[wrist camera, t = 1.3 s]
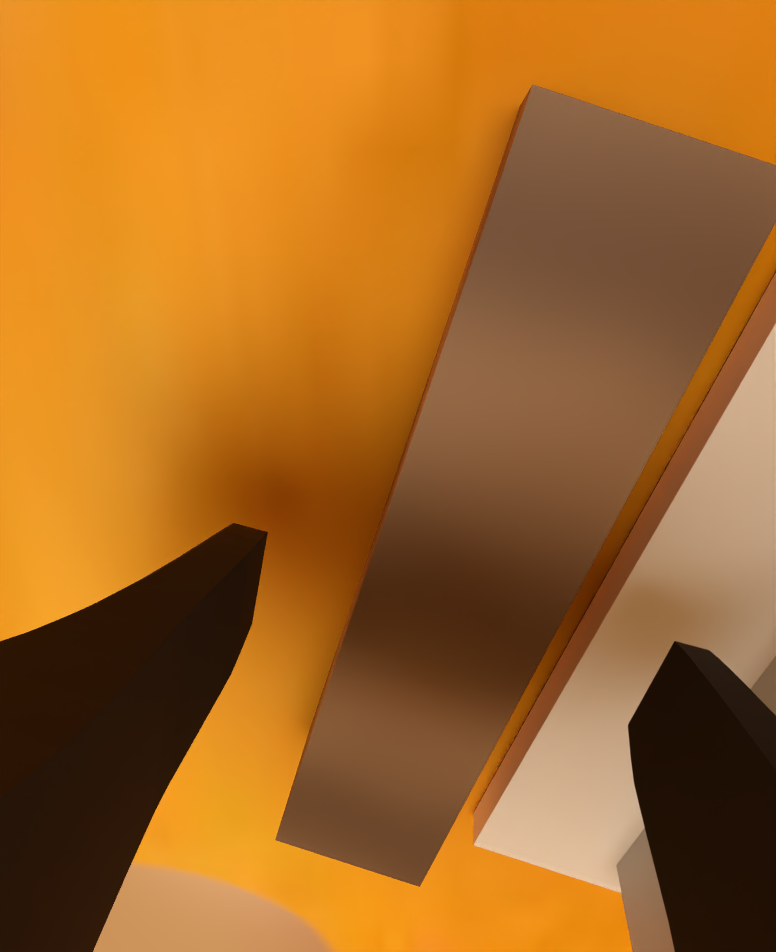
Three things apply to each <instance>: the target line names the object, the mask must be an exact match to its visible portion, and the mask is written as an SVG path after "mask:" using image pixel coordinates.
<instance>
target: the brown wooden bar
mask: <svg viewBox="0 0 776 952" xmlns="http://www.w3.org/2000/svg"><path fill="white" fill-rule="evenodd" d="M775 222H776V165H773V164H770V163H767V162H764V161H761V160H758V159H755V158H752V157H749V156H746V155H743V154H740V153H737V152H734V151H731V150H728V149H725V148H722V147H719V146H716V145H713V144H710V143H707V142H704V141H701V140H698V139H695V138H692V137H689V136H686V135H683V134H680V133H677V132H674V131H671V130H668V129H665V128H662V127H659V126H656V125H653V124H650V123H647V122H644V121H641V120H638V119H635V118H632V117H629V116H626V115H623V114H620V113H617V112H614V111H611V110H608V109H605V108H602V107H599V106H596V105H593V104H590V103H587V102H584V101H581V100H578V99H575V98H572V97H569V96H566V95H563V94H560V93H557V92H554V91H551V90H548V89H545V88H542V87H539V86H536V85H532V87H531V88H530V90H529V92H528V93H527V95H526V97H525V99H524V100H523V102H522V104H521V105H520V108H519V111H518V114H517V117H516V120H515V123H514V126H513V129H512V132H511V135H510V138H509V141H508V143H507V146H506V149H505V152H504V155H503V158H502V161H501V164H500V167H499V170H498V173H497V176H496V179H495V182H494V185H493V188H492V191H491V194H490V197H489V200H488V203H487V206H486V209H485V212H484V215H483V218H482V221H481V224H480V226H479V229H478V232H477V235H476V238H475V241H474V244H473V247H472V250H471V253H470V256H469V259H468V262H467V265H466V268H465V271H464V274H463V277H462V280H461V283H460V286H459V289H458V292H457V295H456V298H455V301H454V304H453V307H452V310H451V312H450V315H449V318H448V321H447V324H446V327H445V330H444V333H443V336H442V339H441V342H440V345H439V348H438V351H437V354H436V357H435V360H434V363H433V366H432V369H431V372H430V375H429V378H428V381H427V384H426V387H425V390H424V393H423V395H422V398H421V401H420V404H419V407H418V410H417V413H416V416H415V419H414V422H413V425H412V428H411V431H410V434H409V437H408V440H407V443H406V446H405V449H404V452H403V455H402V458H401V461H400V464H399V467H398V470H397V473H396V476H395V478H394V481H393V484H392V487H391V490H390V493H389V496H388V499H387V502H386V505H385V508H384V511H383V514H382V517H381V520H380V523H379V526H378V529H377V532H376V535H375V538H374V541H373V544H372V547H371V550H370V553H369V556H368V559H367V561H366V564H365V567H364V570H363V573H362V576H361V579H360V582H359V585H358V588H357V591H356V594H355V597H354V600H353V603H352V606H351V609H350V612H349V615H348V618H347V621H346V624H345V627H344V630H343V633H342V636H341V639H340V642H339V644H338V647H337V650H336V653H335V656H334V659H333V662H332V665H331V668H330V671H329V674H328V677H327V680H326V683H325V686H324V689H323V692H322V695H321V698H320V701H319V704H318V707H317V710H316V713H315V716H314V719H313V722H312V725H311V727H310V730H309V734H308V737H307V740H306V743H305V746H304V750H303V753H302V756H301V759H300V762H299V766H298V769H297V772H296V775H295V779H294V782H293V785H292V788H291V791H290V795H289V798H288V801H287V804H286V807H285V811H284V814H283V817H282V820H281V824H280V827H279V830H278V833H277V836H276V840H277V841H280V842H283V843H286V844H289V845H292V846H295V847H298V848H302V849H305V850H308V851H311V852H314V853H317V854H320V855H323V856H326V857H329V858H332V859H336V860H339V861H342V862H345V863H348V864H351V865H354V866H357V867H360V868H363V869H366V870H370V871H373V872H376V873H379V874H382V875H385V876H388V877H391V878H394V879H397V880H400V881H404V882H407V883H410V884H413V885H416V886H419V887H420V885H421V883H422V881H423V880H424V878H425V876H426V874H427V872H428V870H429V868H430V867H431V865H432V863H433V861H434V859H435V857H436V855H437V853H438V852H439V850H440V848H441V846H442V844H443V842H444V840H445V839H446V837H447V835H448V833H449V831H450V829H451V827H452V825H453V824H454V822H455V820H456V818H457V816H458V814H459V812H460V811H461V809H462V807H463V805H464V803H465V801H466V799H467V797H468V796H469V794H470V792H471V790H472V788H473V786H474V784H475V783H476V781H477V779H478V777H479V775H480V773H481V771H482V769H483V768H484V766H485V764H486V762H487V760H488V758H489V756H490V755H491V753H492V751H493V749H494V747H495V745H496V743H497V741H498V740H499V738H500V736H501V734H502V732H503V730H504V728H505V727H506V725H507V723H508V721H509V719H510V717H511V715H512V713H513V712H514V710H515V708H516V706H517V704H518V702H519V700H520V699H521V697H522V695H523V693H524V691H525V689H526V687H527V685H528V684H529V682H530V680H531V678H532V676H533V674H534V672H535V671H536V669H537V667H538V665H539V663H540V661H541V659H542V657H543V656H544V654H545V652H546V650H547V648H548V646H549V644H550V643H551V641H552V639H553V637H554V635H555V633H556V631H557V629H558V628H559V626H560V624H561V622H562V620H563V618H564V616H565V614H566V613H567V611H568V609H569V607H570V605H571V603H572V601H573V600H574V598H575V596H576V594H577V592H578V590H579V588H580V586H581V585H582V583H583V581H584V579H585V577H586V575H587V573H588V572H589V570H590V568H591V566H592V564H593V562H594V560H595V558H596V557H597V555H598V553H599V551H600V549H601V547H602V545H603V544H604V542H605V540H606V538H607V536H608V534H609V532H610V530H611V529H612V527H613V525H614V523H615V521H616V519H617V517H618V516H619V514H620V512H621V510H622V508H623V506H624V504H625V502H626V501H627V499H628V497H629V495H630V493H631V491H632V489H633V488H634V486H635V484H636V482H637V480H638V478H639V476H640V474H641V473H642V471H643V469H644V467H645V465H646V463H647V461H648V460H649V458H650V456H651V454H652V452H653V450H654V448H655V446H656V445H657V443H658V441H659V439H660V437H661V435H662V433H663V432H664V430H665V428H666V426H667V424H668V422H669V420H670V418H671V417H672V415H673V413H674V411H675V409H676V407H677V405H678V404H679V402H680V400H681V398H682V396H683V394H684V392H685V390H686V389H687V387H688V385H689V383H690V381H691V379H692V377H693V376H694V374H695V372H696V370H697V368H698V366H699V364H700V362H701V361H702V359H703V357H704V355H705V353H706V351H707V349H708V348H709V346H710V344H711V342H712V340H713V338H714V336H715V334H716V333H717V331H718V329H719V327H720V325H721V323H722V321H723V319H724V318H725V316H726V314H727V312H728V310H729V308H730V306H731V305H732V303H733V301H734V299H735V297H736V295H737V293H738V291H739V290H740V288H741V286H742V284H743V282H744V280H745V278H746V277H747V275H748V273H749V271H750V269H751V267H752V265H753V263H754V262H755V260H756V258H757V256H758V254H759V252H760V250H761V249H762V247H763V245H764V243H765V241H766V239H767V237H768V235H769V234H770V232H771V230H772V228H773V226H774V224H775Z"/></svg>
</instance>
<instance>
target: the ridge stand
mask: <svg viewBox="0 0 776 952" xmlns="http://www.w3.org/2000/svg"><path fill="white" fill-rule="evenodd" d="M674 641H677V642H681V643H684V644H688V645H692V646H696V647H699V648H703V649H707V650H710V651H711V652H712V653H713V654H714V655H716V656H717V657H718V658H719V659H720V660H721V661H722V662H723V663H724V664H725V665H727V666H728V667H729V668H730V669H731V670H732V671H733V672H734V673H735V674H736V675H737V676H738V677H739V678H740V679H741V680H742V681H743V682H744V683H745V684H746V685H747V686H748V687H749V688H750V689H751V690H752V691H753V692H754V693H755V695H756V696H757V697H758V698H759V699H760V700H761V701H762V702H763V703H764V704H765V705H766V706H767V707H768V708H769V709H770V710H771V711H772V712H773V713H774V714H775V715H776V273H775V275H774V277H773V278H772V280H771V282H770V284H769V285H768V287H767V289H766V291H765V293H764V294H763V296H762V298H761V300H760V302H759V303H758V305H757V307H756V309H755V311H754V312H753V314H752V316H751V318H750V319H749V321H748V323H747V325H746V327H745V328H744V330H743V332H742V334H741V336H740V337H739V339H738V341H737V343H736V345H735V346H734V348H733V350H732V352H731V353H730V355H729V357H728V359H727V361H726V362H725V364H724V366H723V368H722V370H721V371H720V373H719V375H718V377H717V379H716V380H715V382H714V384H713V386H712V387H711V389H710V391H709V393H708V395H707V396H706V398H705V400H704V402H703V404H702V405H701V407H700V409H699V411H698V412H697V414H696V416H695V418H694V420H693V421H692V423H691V425H690V427H689V429H688V430H687V432H686V434H685V436H684V438H683V439H682V441H681V443H680V445H679V446H678V448H677V450H676V452H675V454H674V455H673V457H672V459H671V461H670V463H669V464H668V466H667V468H666V470H665V472H664V473H663V475H662V477H661V479H660V480H659V482H658V484H657V486H656V488H655V489H654V491H653V493H652V495H651V497H650V498H649V500H648V502H647V504H646V505H645V507H644V509H643V511H642V513H641V514H640V516H639V518H638V520H637V522H636V523H635V525H634V527H633V529H632V531H631V532H630V534H629V536H628V538H627V539H626V541H625V543H624V545H623V547H622V548H621V550H620V552H619V554H618V556H617V557H616V559H615V561H614V563H613V565H612V566H611V568H610V570H609V572H608V573H607V575H606V577H605V579H604V581H603V582H602V584H601V586H600V588H599V590H598V591H597V593H596V595H595V597H594V599H593V600H592V602H591V604H590V606H589V607H588V609H587V611H586V613H585V615H584V616H583V618H582V620H581V622H580V624H579V625H578V627H577V629H576V631H575V632H574V634H573V636H572V638H571V640H570V641H569V643H568V645H567V647H566V649H565V650H564V652H563V654H562V656H561V658H560V659H559V661H558V663H557V665H556V666H555V668H554V670H553V672H552V674H551V675H550V677H549V679H548V681H547V683H546V684H545V686H544V688H543V690H542V692H541V693H540V695H539V697H538V699H537V700H536V702H535V704H534V706H533V708H532V709H531V711H530V713H529V715H528V717H527V718H526V720H525V722H524V724H523V725H522V727H521V729H520V731H519V733H518V734H517V736H516V738H515V740H514V742H513V743H512V745H511V747H510V749H509V751H508V752H507V754H506V756H505V758H504V759H503V761H502V763H501V765H500V767H499V768H498V770H497V772H496V774H495V776H494V777H493V779H492V781H491V783H490V785H489V786H488V788H487V790H486V792H485V793H484V795H483V797H482V799H481V801H480V802H479V804H478V806H477V808H476V810H475V811H474V828H473V845H474V846H478V847H481V848H484V849H487V850H490V851H493V852H496V853H499V854H502V855H505V856H508V857H512V858H515V859H518V860H521V861H524V862H527V863H530V864H533V865H536V866H539V867H542V868H546V869H549V870H552V871H555V872H558V873H561V874H564V875H567V876H570V877H573V878H576V879H580V880H583V881H586V882H589V883H592V884H595V885H598V886H601V887H604V888H607V889H610V890H614V891H617V892H620V893H622V898H623V903H624V908H625V914H626V919H627V924H628V929H629V934H630V940H631V945H632V950H633V952H675V951H674V946H673V941H672V937H671V932H670V927H669V922H668V918H667V914H666V910H665V906H664V903H663V899H662V895H661V891H660V887H659V883H658V879H657V875H656V871H655V867H654V863H653V859H652V855H651V851H650V847H649V843H648V839H647V835H646V831H645V827H644V823H643V819H642V815H641V811H640V807H639V803H638V798H637V794H636V790H635V785H634V780H633V772H632V764H631V756H630V745H629V733H628V724H629V722H630V720H631V718H632V716H633V715H634V713H635V711H636V709H637V707H638V706H639V704H640V702H641V700H642V699H643V697H644V695H645V693H646V691H647V690H648V688H649V686H650V684H651V682H652V681H653V679H654V677H655V675H656V673H657V672H658V670H659V668H660V666H661V664H662V663H663V661H664V659H665V657H666V655H667V654H668V652H669V650H670V648H671V646H672V645H673V643H674Z"/></svg>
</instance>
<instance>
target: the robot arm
mask: <svg viewBox="0 0 776 952" xmlns="http://www.w3.org/2000/svg"><path fill="white" fill-rule="evenodd" d="M267 533H268V532H265V531H261V530H257V529H254V528H250V527H246V526H242V525H239V524H235V523H233V524H231V525H229V526H228V527H226V528H224V529H223V530H221V531H219V532H218V533H216V534H215V535H213V536H212V537H210V538H208V539H207V540H205V541H204V542H202V543H201V544H199V545H197V546H196V547H194V548H193V549H191V550H190V551H188V552H186V553H185V554H183V555H182V556H180V557H178V558H177V559H175V560H173V561H172V562H170V563H168V564H167V565H165V566H163V567H161V568H160V569H158V570H156V571H155V572H153V573H151V574H150V575H148V576H146V577H144V578H143V579H141V580H139V581H137V582H135V583H133V584H131V585H130V586H128V587H126V588H124V589H122V590H120V591H118V592H116V593H114V594H112V595H110V596H108V597H107V598H105V599H103V600H101V601H99V602H97V603H95V604H93V605H91V606H89V607H86V608H84V609H82V610H80V611H78V612H75V613H73V614H71V615H69V616H66V617H64V618H61V619H59V620H56V621H54V622H52V623H49V624H47V625H44V626H42V627H40V628H37V629H34V630H32V631H29V632H27V633H24V634H21V635H18V636H15V637H12V638H9V639H6V640H3V641H0V952H93V950H94V948H95V945H96V943H97V941H98V938H99V936H100V934H101V931H102V929H103V927H104V925H105V922H106V920H107V918H108V915H109V913H110V910H111V909H112V906H113V904H114V902H115V899H116V897H117V895H118V892H119V890H120V888H121V886H122V883H123V881H124V878H125V876H126V874H127V872H128V870H129V867H130V865H131V863H132V861H133V859H134V856H135V854H136V852H137V850H138V847H139V845H140V843H141V841H142V839H143V836H144V834H145V832H146V830H147V827H148V825H149V823H150V821H151V819H152V816H153V814H154V812H155V810H156V808H157V806H158V804H159V802H160V800H161V798H162V796H163V794H164V793H165V791H166V789H167V787H168V785H169V783H170V781H171V780H172V778H173V776H174V774H175V773H176V771H177V769H178V767H179V765H180V764H181V762H182V760H183V758H184V757H185V755H186V753H187V751H188V750H189V748H190V746H191V744H192V743H193V741H194V739H195V737H196V736H197V734H198V732H199V730H200V728H201V727H202V725H203V723H204V721H205V720H206V718H207V716H208V714H209V713H210V711H211V709H212V707H213V705H214V704H215V702H216V700H217V698H218V697H219V695H220V693H221V691H222V689H223V688H224V686H225V684H226V682H227V680H228V679H229V677H230V675H231V673H232V671H233V668H234V666H235V664H236V661H237V659H238V657H239V654H240V652H241V649H242V647H243V645H244V642H245V640H246V637H247V635H248V632H249V630H250V627H251V625H252V620H253V615H254V609H255V603H256V597H257V591H258V585H259V580H260V574H261V568H262V562H263V556H264V550H265V545H266V539H267ZM628 733H629V745H630V756H631V764H632V772H633V780H634V785H635V790H636V794H637V798H638V803H639V807H640V811H641V815H642V819H643V823H644V827H645V831H646V835H647V839H648V843H649V847H650V851H651V855H652V859H653V863H654V867H655V871H656V875H657V879H658V883H659V887H660V891H661V895H662V899H663V903H664V906H665V910H666V914H667V918H668V922H669V927H670V932H671V937H672V941H673V946H674V951H675V952H776V715H775V714H774V713H773V712H772V711H771V710H770V709H769V708H768V707H767V706H766V705H765V704H764V703H763V702H762V701H761V700H760V699H759V698H758V697H757V696H756V695H755V693H754V692H753V691H752V690H751V689H750V688H749V687H748V686H747V685H746V684H745V683H744V682H743V681H742V680H741V679H740V678H739V677H738V676H737V675H736V674H735V673H734V672H733V671H732V670H731V669H730V668H729V667H728V666H727V665H725V664H724V663H723V662H722V661H721V660H720V659H719V658H718V657H717V656H716V655H714V654H713V653H712V652H711V651H710V650H707V649H703V648H699V647H696V646H692V645H688V644H684V643H681V642H677V641H674V643H673V645H672V646H671V648H670V650H669V652H668V654H667V655H666V657H665V659H664V661H663V663H662V664H661V666H660V668H659V670H658V672H657V673H656V675H655V677H654V679H653V681H652V682H651V684H650V686H649V688H648V690H647V691H646V693H645V695H644V697H643V699H642V700H641V702H640V704H639V706H638V707H637V709H636V711H635V713H634V715H633V716H632V718H631V720H630V722H629V724H628Z"/></svg>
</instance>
